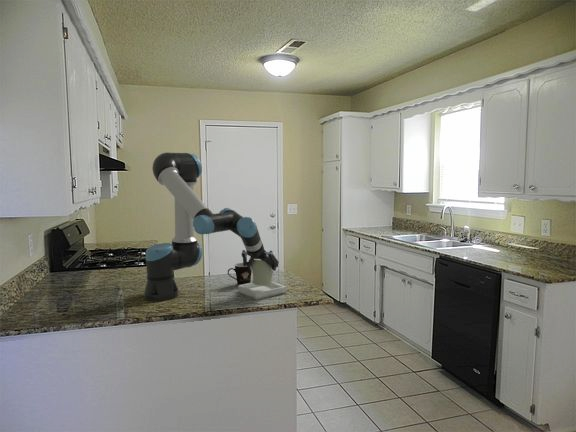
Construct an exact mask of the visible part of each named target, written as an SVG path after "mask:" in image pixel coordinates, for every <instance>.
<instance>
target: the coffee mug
mask: <svg viewBox="0 0 576 432" xmlns="http://www.w3.org/2000/svg"><path fill="white" fill-rule="evenodd" d="M231 270H233V271H234V272H235V277H234V276H232V275H231V274H230V271H231ZM227 275H228V276H229V277H230V278H232V279H234V280H235V281H236V282H237V283H236V284H237V286H238V285H242V284H247V283H252V271H251V270H249V268H248V267H247V266H243V262H239V263H238V262H237V263H235V264H234V267H231V268H229V269H227Z"/></svg>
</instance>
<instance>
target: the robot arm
mask: <svg viewBox="0 0 576 432" xmlns="http://www.w3.org/2000/svg"><path fill="white" fill-rule="evenodd" d="M202 172H203V166H202V162H201V160H200V158H198V155H197V154H194V153H191V152H190V153H188V152H169V151H168V152H163V153H160V154H159V155H157V156H156V157H155V159H154V160H153V162H152V173H153V176H154V178H155V180H156V181H157V182H158V183H159V185H161V186H164V187H165V188H166V189H167V190H168V191H169V193H170V194H171V195H172V196H173V197H174V237H173V238H171V243H170V242H162V243H156V244H154V245H151V246H148V247H147V249H146V250H145V266H146V283H145V287H144V290H143V299H144V300H146V301H153V302H159V301H167V300H168V301H169V300H171V299H175V298H177V297H178V296H179V294H180V293H179V288H178V285H177V283H176V279H175V275H174V273H175V271H178V270H181V269H185V268H191V267H194V266H196V265H198V263H200V261H201V260H202V256H203V248H202V247H201V244H200V243H199V242H198V239H197V238H196V237H195V235H194V233H196V234H199V235H211V234H214V233H219V232H226V231H231V232H232V233H234V234H235V235H237V236H238V237H240V238H241V241H242V244H243V245H244V248H245V249H242V251H241V257H242V263H243V266H247V267H248V268H249V270H251V271H252V272H251V274H253V264H252V261H253V260H254V259H261V260H262V261H265V262H266V263H267V264H268V265H269V266H271V267H270V269H271V271H272V277H273V276H276V270H277V268H278V267H279V260H278V259H277V258H276V256H275V255H274V254H273V251H272V250H269V251H267V250H265V246H264V244H263V241H262V238H261V236H260V232H259V230H258V226H257V224H256V222H255V220H254V219H253V218H252V217H250V216H243V215H241V214H239V213H238V212H237V211H236V210H233V209H231V208H229V207H225V208H223V209H221V210H220V211H219V213H214V212H212V211H211V209H210V208H208V206H207V205H206V204H205V203H204V202H203V201H202V199H201V198H200V197H199V196H198V195H197V194H196V192H195V191H194V186H195V185H196V184H197V183H198V182H197V181H198V178H200V176H201V174H202ZM194 231H195V232H194ZM247 257H249V259H248V258H247Z"/></svg>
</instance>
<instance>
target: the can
mask: <svg viewBox="0 0 576 432" xmlns="http://www.w3.org/2000/svg"><path fill="white" fill-rule="evenodd" d="M252 264H253V273H252V282H253V284H255V285H269V284H271V283H272V282H274V281H273V274H272V271H271V269H270V267H271V266H269V265H268V264H267V263H266V262H265V261H262V260H261V259H254V260H253V261H252Z"/></svg>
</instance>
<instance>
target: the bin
mask: <svg viewBox="0 0 576 432" xmlns="http://www.w3.org/2000/svg"><path fill="white" fill-rule="evenodd" d="M237 286H238V292H239V293H241V294H244V295H245V296H247V297H250V298H252V299H254V300H256V301H258V300H262V299H267V298H271V297H275V296H279V295H284V294H287V286H285V285H282V284H279V283H277V282H274V281H273V282H272V283H271V284H269V285H255V284H253V281H251V283H247V284H242V285H237Z"/></svg>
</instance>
